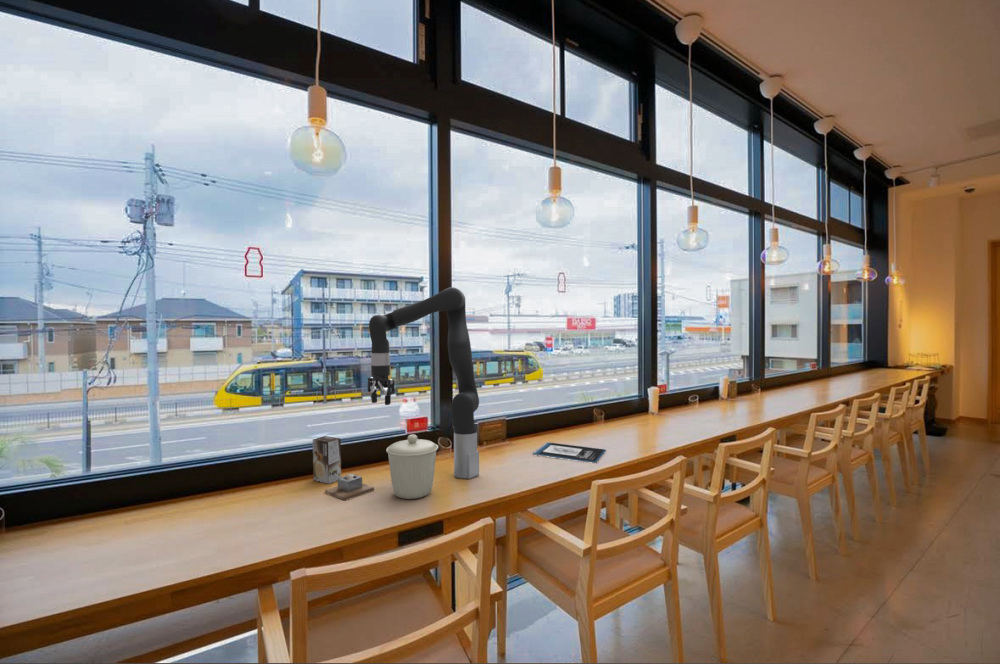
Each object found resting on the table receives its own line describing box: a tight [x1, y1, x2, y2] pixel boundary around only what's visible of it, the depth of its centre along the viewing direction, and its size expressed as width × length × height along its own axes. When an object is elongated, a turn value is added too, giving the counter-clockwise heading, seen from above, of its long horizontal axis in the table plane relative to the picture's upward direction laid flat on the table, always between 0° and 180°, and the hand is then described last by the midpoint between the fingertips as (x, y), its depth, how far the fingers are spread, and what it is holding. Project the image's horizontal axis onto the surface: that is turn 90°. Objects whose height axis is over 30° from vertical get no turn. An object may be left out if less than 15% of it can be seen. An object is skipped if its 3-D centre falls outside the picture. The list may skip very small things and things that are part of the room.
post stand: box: [324, 473, 375, 501], centre depth 156 cm, size 12×12×6 cm
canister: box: [385, 434, 439, 500], centre depth 154 cm, size 18×18×21 cm
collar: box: [337, 473, 363, 493], centre depth 156 cm, size 6×6×4 cm
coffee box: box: [312, 435, 342, 484], centre depth 169 cm, size 9×6×16 cm
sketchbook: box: [531, 441, 607, 464], centre depth 204 cm, size 22×30×2 cm
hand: (380, 403), depth 177 cm, fingers open, 8 cm apart
